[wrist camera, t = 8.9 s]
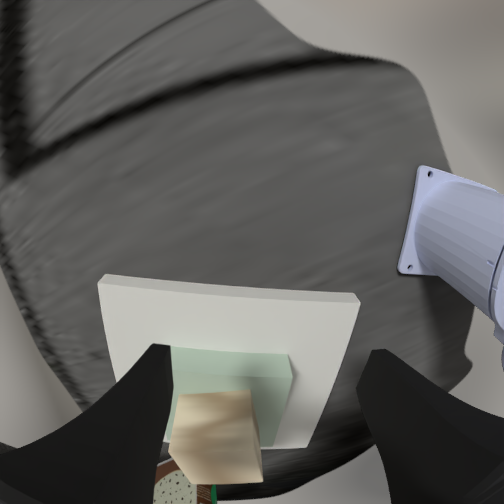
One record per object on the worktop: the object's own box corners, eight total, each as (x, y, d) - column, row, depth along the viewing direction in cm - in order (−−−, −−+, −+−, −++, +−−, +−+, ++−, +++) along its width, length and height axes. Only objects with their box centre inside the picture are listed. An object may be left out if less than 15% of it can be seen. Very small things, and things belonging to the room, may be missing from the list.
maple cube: (250, 389, 18) (253, 449, 13) (258, 429, 20) (263, 481, 15) (178, 394, 18) (168, 451, 14) (196, 433, 20) (191, 484, 15)
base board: (353, 292, 21) (374, 322, 17) (304, 436, 27) (310, 465, 23) (105, 273, 19) (81, 300, 15) (136, 425, 25) (128, 454, 22)
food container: (186, 483, 31) (181, 541, 21) (149, 467, 29) (138, 528, 20) (246, 459, 28) (250, 530, 19) (205, 441, 26) (200, 520, 17)
